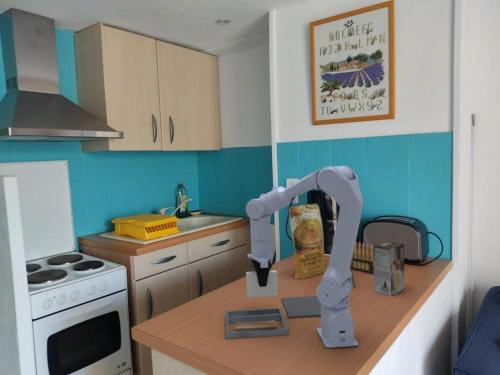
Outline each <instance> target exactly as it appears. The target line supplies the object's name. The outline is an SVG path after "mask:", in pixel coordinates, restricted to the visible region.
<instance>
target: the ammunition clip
mask: <svg viewBox="0 0 500 375" xmlns="http://www.w3.org/2000/svg"><path fill="white" fill-rule="evenodd" d="M352 259H353V263H352V265H351V266H352V271H355V272H359V271H360V273H365V274H369V275H374V245H373V243H371V244H370V245H369V242H368V243H366V244H365V242H362V244H361V241H359V242H358V243H357V241H356V242H355V246H354V251H353V255H352Z"/></svg>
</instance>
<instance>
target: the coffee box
mask: <svg viewBox="0 0 500 375" xmlns="http://www.w3.org/2000/svg"><path fill="white" fill-rule="evenodd" d="M373 249H374V274H373V275H374V276H373V277H374V292H375V293H376V292H377V293H379V294H383V295H387V296H389V297H391V296H393V295H396V294H397V293H399V292H401V291H403V290H405V243H401V242H400V243H399V242H394V241H393V242H392V241H385V242H382V243H379V244H375V245H373Z"/></svg>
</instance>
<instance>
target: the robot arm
mask: <svg viewBox="0 0 500 375" xmlns="http://www.w3.org/2000/svg"><path fill="white" fill-rule="evenodd" d="M311 190H321V191H323V193H325V194H327V195H328V196H329V197H331V198H332V199H334V201H335V202H336V203H337V204H338V206H339V212H338V216H337V221H336V227H335V232H334V238H333V241H332V245H331V246H332V247H331V250H330V251H331V252H330V256H329V262H328V266H327V268H326V269H325V270H324V273H323V274H322V275H323V276H322V279H321V282H320V283H318V286H317V287H316V290H315V296H317V298H318V300H319V302H320V303H321V316H320V327H317V328H316V332H317V333H318V335H319V337H320V339H321V340H322V342H323V345H324V346H325V347H326V348H327V349H328V348H329V349H330V348H331V349H332V348H346V347H347V348H348V347H358V346H359V343H358V342H357V340H356V338H355V321H354V318H353V316H352V315H351V312H350V308H351V307H350V306H351V305H350V297H349V295H351V294H352V291H353V289H354V288H353V284H352V281H351V276H352V273H353V271H352V272H351V271H350V265H351V260H352V255H353V251H354V246H355V242H357V241H356V240H357V237H358V233H359V232H358V231H359V227H360V223H361V219H362V218H361V217H362V213H363V208H364V198H363V195H362V191H361V189H360V185H359V177H358V175H357V174H356V173H355V172H354V170H353V169H352V168H350V167H349V166H347V165H344V164H343V165H342V164H341V165H338V166H337V165H336V166H324V167H323V168H321V169H318V170H315V171H313V172H311V173H309V174H308V175H306V176H304V177H302V178H300V179H299V180H297V181H296V182H294V183H292V184H291V185H288V186H287V187H285V186H277V185H276V186H273V187H272V188H271V191H269V192H267V193H262V194H260V195H259V198H252V199H250V200H249V201H248V202H247V203H246V204H245V213H246V215H247V216H248V218H249V221H250V245H251V246H250V247H251V249H250V250H251V253H247V258H248V259H250V261H251V264H252V266H253V268H254V270H255V271H254V272H256V274H257V279H258V284H259V287H266V286H267V281H268V275H269V272H270V271H271V270H272V267H273V263H272V262H271V258H272V257H273V256H272V248H271V247H272V244H271V243H272V242H271V220H272V218H271V217H272V215H273V213H275V212H278V211H279V210H281V209H283V208H286V207H288V206H290V205H291V203H292V199H293V198H296V197H298V196H300V195H303V194H305V193H306V192H309V191H311Z"/></svg>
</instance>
